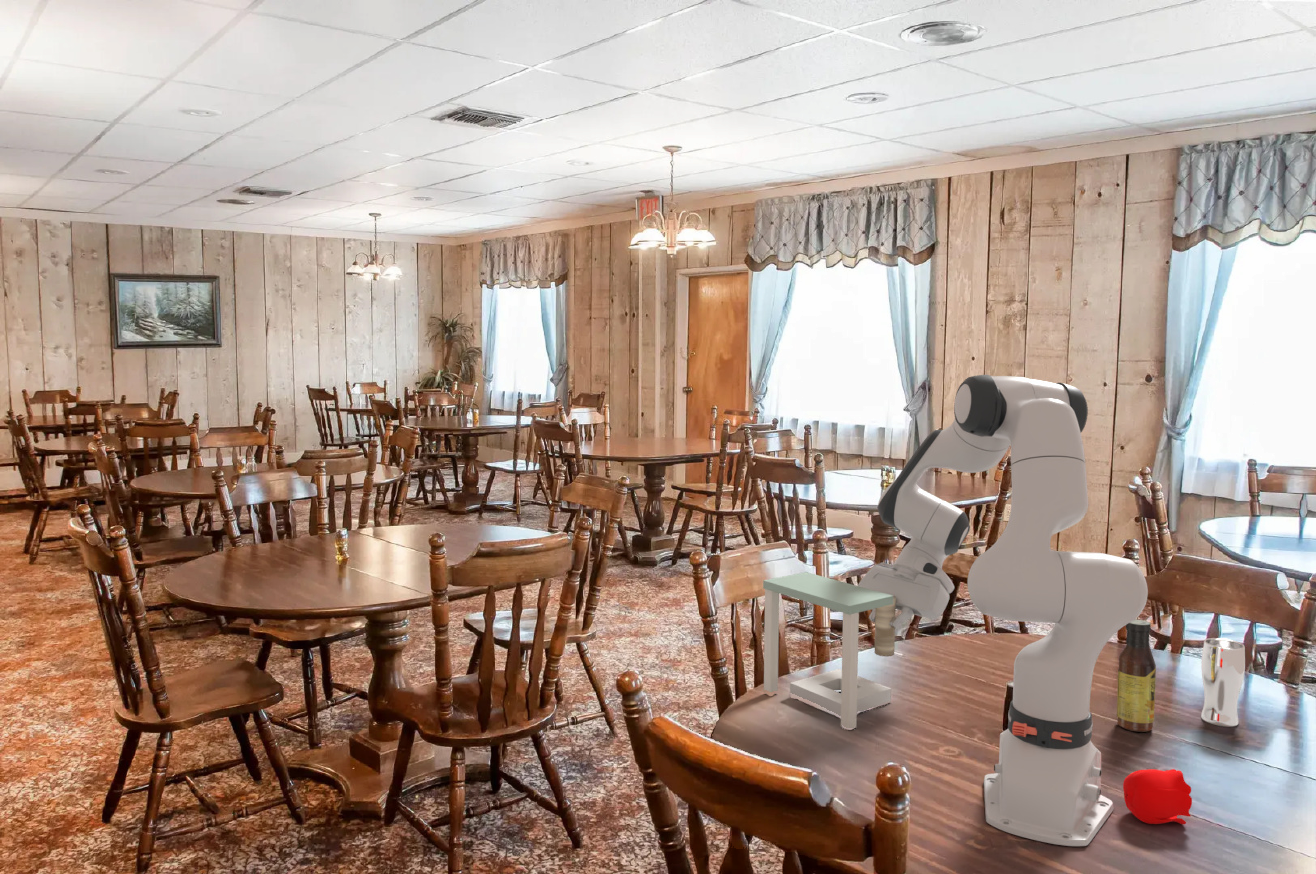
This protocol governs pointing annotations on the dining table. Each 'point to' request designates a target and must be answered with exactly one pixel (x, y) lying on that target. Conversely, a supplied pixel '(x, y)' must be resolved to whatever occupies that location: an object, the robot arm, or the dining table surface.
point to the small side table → (829, 596)
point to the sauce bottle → (1136, 680)
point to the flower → (1157, 795)
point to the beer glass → (1222, 680)
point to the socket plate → (824, 695)
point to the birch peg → (885, 630)
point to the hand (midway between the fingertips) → (883, 623)
